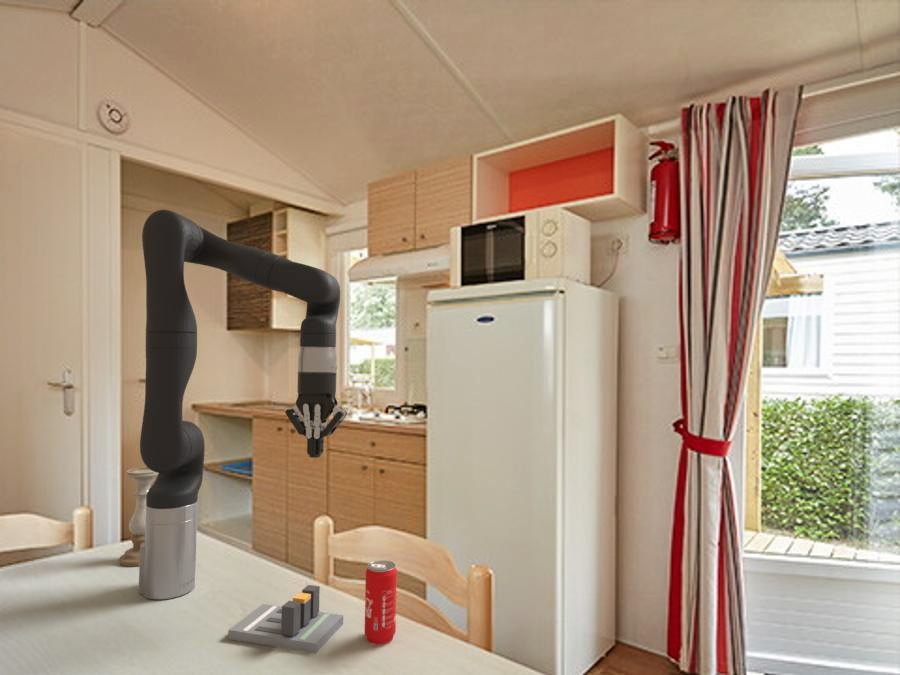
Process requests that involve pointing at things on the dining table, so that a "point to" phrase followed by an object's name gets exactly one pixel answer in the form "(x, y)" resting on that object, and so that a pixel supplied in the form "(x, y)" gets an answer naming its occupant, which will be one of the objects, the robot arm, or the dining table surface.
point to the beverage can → (380, 602)
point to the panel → (267, 629)
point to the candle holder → (138, 514)
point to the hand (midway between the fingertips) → (315, 456)
